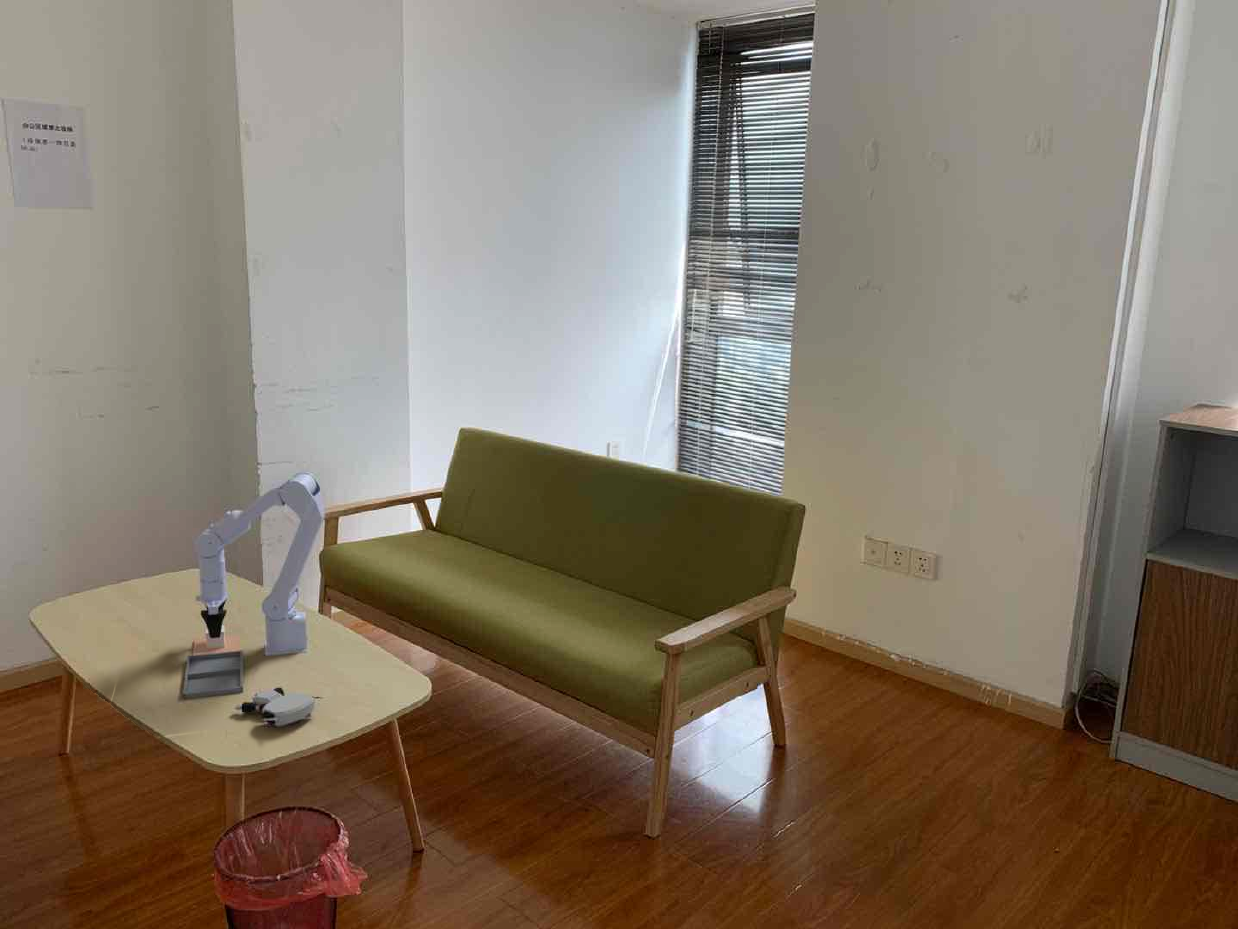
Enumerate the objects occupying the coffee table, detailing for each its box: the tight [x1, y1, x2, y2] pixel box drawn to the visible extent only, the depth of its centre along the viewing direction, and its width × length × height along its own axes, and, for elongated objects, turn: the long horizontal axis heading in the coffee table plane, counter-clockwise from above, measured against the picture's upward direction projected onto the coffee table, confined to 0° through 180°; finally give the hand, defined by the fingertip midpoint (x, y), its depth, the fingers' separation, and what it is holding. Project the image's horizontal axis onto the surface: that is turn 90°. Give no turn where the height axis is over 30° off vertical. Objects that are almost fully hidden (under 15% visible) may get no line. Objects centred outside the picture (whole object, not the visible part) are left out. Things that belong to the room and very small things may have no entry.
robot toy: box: [234, 687, 324, 727], centre depth 200 cm, size 12×4×15 cm
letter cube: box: [205, 624, 226, 649], centre depth 230 cm, size 4×4×4 cm
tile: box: [192, 633, 240, 655], centre depth 230 cm, size 10×10×1 cm
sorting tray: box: [182, 650, 244, 700], centre depth 215 cm, size 12×20×2 cm, turn 21°
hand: (215, 631), depth 230 cm, fingers open, 7 cm apart
